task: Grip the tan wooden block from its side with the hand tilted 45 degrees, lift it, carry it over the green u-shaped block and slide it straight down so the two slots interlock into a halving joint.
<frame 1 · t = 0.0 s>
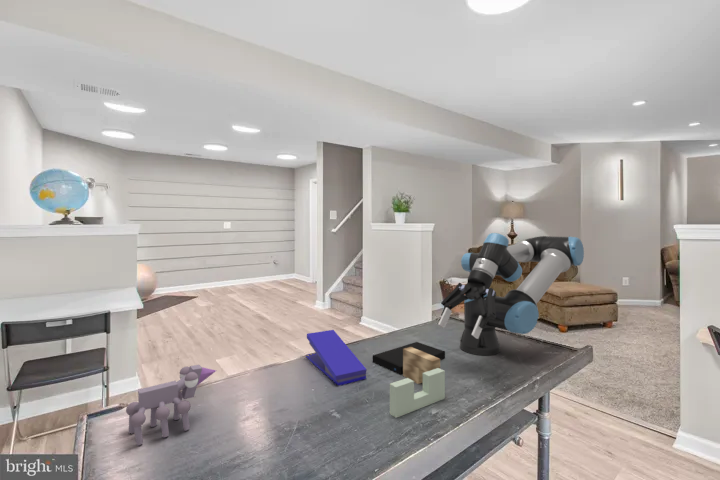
hand: (457, 331, 113), 15 cm above the table, fingers open, 13 cm apart
external hard drive: (409, 361, 129), on the table
green u-shaped block: (418, 405, 96), on the table
grey toy animal figure: (176, 426, 88), on the table
tan wooden block: (422, 382, 111), on the table
blue foot pedal: (333, 369, 123), on the table
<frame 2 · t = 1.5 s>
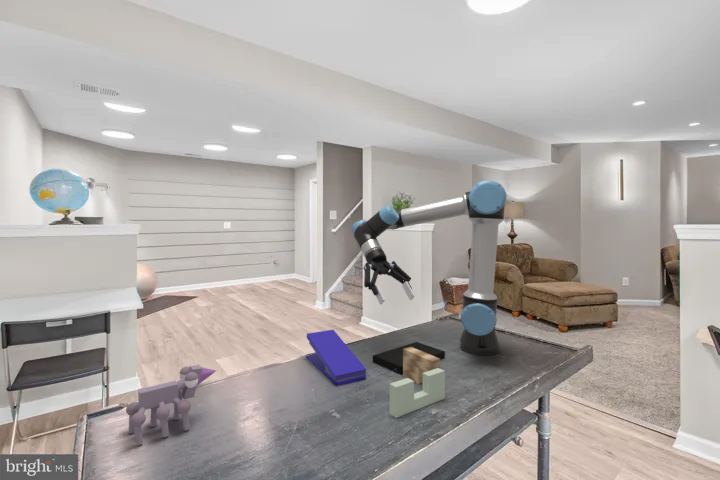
hand: (398, 300, 125), 23 cm above the table, fingers open, 13 cm apart
nothing on the table moved.
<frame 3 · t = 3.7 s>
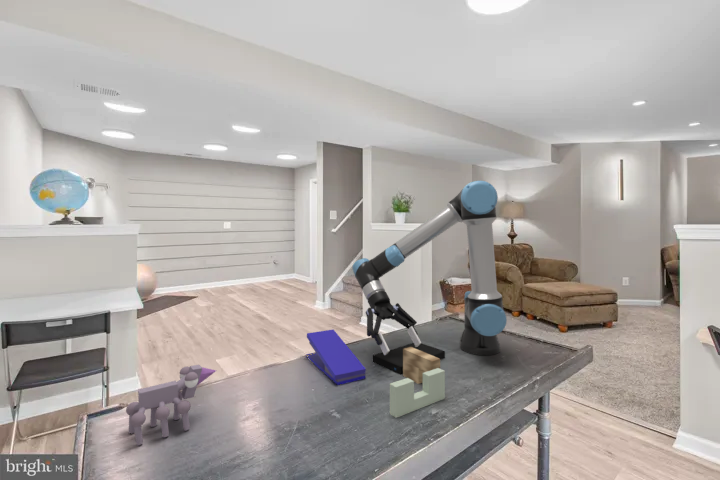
hand: (403, 349, 116), 9 cm above the table, fingers open, 13 cm apart
nothing on the table moved.
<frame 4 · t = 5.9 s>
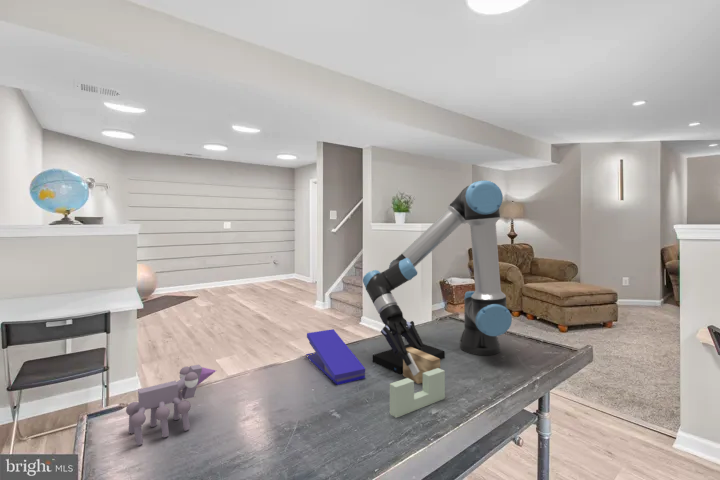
hand: (421, 372, 111), 3 cm above the table, fingers closed on tan wooden block, 3 cm apart
tan wooden block: (422, 382, 111), on the table, touching gripper
everything else where it was.
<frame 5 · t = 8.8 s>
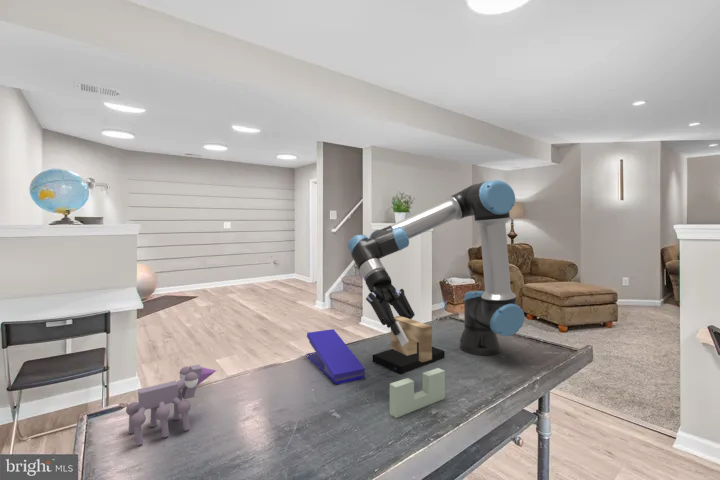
hand: (411, 342, 98), 17 cm above the table, fingers closed on tan wooden block, 3 cm apart
tan wooden block: (411, 354, 98), point 14 cm above the table, touching gripper
everything else where it was.
when the fingers open (5 cm above the table, at t = 11.5 s): tan wooden block drops 2 cm, on the table.
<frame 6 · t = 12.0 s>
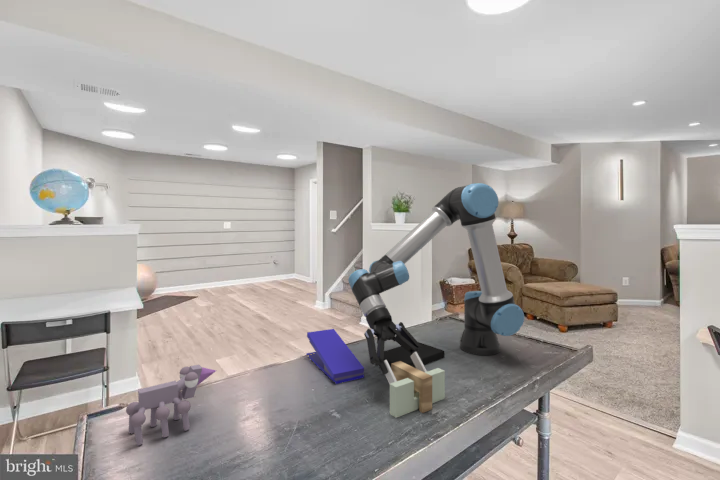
hand: (409, 379, 99), 6 cm above the table, fingers open, 10 cm apart
tan wooden block: (412, 401, 99), on the table
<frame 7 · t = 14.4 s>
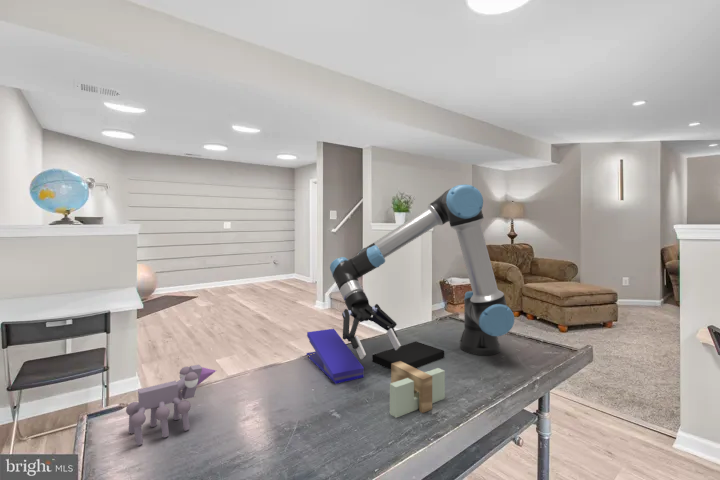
hand: (381, 352, 110), 10 cm above the table, fingers open, 13 cm apart
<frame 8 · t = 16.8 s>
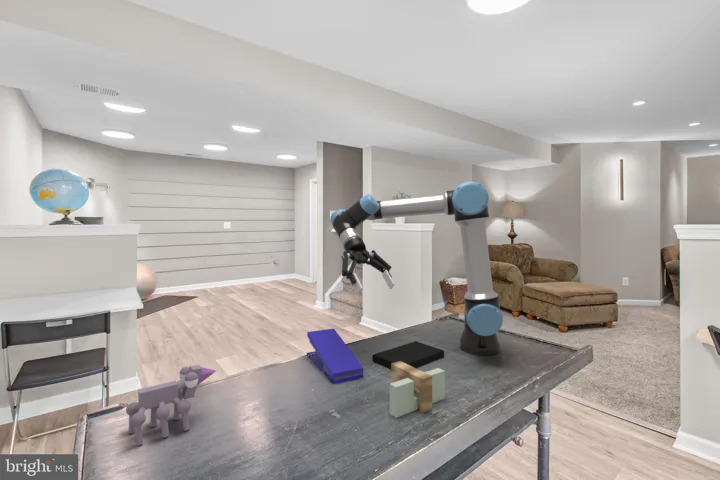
hand: (377, 288, 121), 28 cm above the table, fingers open, 13 cm apart
at the end: tan wooden block 0.1 cm from the target spot on the table beside the green u-shaped block, on the table; tan wooden block tilted 0°; the gripper is holding nothing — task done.
